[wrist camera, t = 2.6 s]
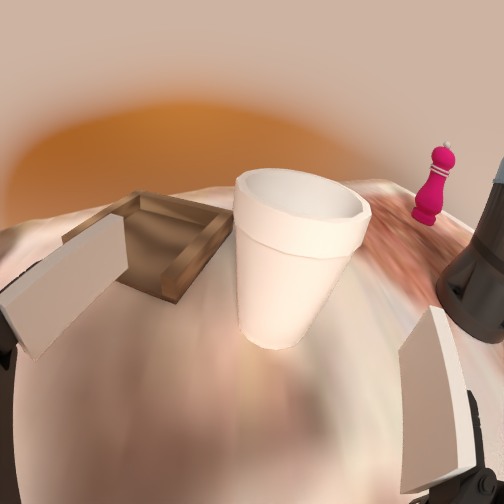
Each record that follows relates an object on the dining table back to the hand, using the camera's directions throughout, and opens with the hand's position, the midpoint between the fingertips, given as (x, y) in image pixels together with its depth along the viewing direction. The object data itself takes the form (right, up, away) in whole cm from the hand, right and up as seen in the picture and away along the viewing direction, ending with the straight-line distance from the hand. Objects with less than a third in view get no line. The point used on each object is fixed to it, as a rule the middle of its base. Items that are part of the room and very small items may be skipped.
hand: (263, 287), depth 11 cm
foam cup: (+1, -5, +15) cm, 16 cm away
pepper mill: (+40, +9, +47) cm, 62 cm away
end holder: (-13, +2, +23) cm, 26 cm away
